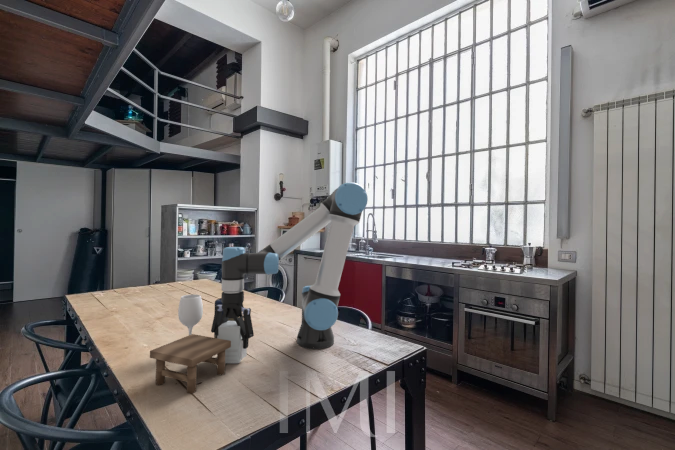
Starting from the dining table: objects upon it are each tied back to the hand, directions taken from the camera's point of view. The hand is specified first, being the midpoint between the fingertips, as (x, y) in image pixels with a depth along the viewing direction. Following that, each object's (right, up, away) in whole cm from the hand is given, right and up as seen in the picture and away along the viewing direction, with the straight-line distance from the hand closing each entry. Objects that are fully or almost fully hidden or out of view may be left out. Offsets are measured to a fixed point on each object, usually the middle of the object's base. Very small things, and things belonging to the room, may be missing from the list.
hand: (231, 355), depth 113 cm
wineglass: (-17, -1, +4) cm, 17 cm away
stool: (-8, -1, -14) cm, 16 cm away
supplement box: (0, -2, 0) cm, 2 cm away
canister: (-8, -2, +18) cm, 20 cm away
